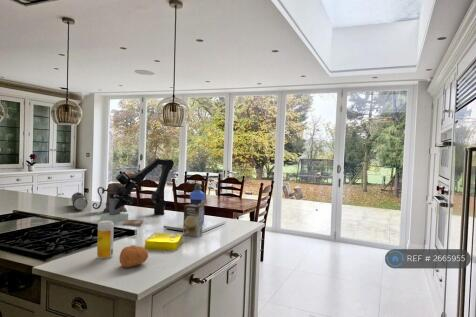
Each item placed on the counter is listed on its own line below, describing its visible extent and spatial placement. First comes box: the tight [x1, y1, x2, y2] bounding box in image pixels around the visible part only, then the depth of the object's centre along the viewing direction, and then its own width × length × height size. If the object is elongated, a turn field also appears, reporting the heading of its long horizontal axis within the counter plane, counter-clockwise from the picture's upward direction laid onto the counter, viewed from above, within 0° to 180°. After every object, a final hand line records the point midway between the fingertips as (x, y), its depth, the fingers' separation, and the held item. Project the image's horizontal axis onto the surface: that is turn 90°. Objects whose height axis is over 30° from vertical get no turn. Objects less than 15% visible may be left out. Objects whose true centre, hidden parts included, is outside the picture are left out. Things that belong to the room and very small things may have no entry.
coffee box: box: [182, 203, 204, 238], centre depth 176 cm, size 9×6×16 cm
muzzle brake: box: [71, 192, 88, 211], centre depth 241 cm, size 10×28×10 cm, turn 30°
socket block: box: [99, 212, 129, 223], centre depth 204 cm, size 12×11×4 cm
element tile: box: [144, 232, 183, 252], centre depth 155 cm, size 15×15×5 cm
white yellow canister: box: [96, 220, 115, 260], centre depth 136 cm, size 6×6×15 cm
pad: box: [122, 219, 144, 227], centre depth 196 cm, size 10×10×2 cm
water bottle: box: [189, 183, 206, 224], centre depth 203 cm, size 9×9×25 cm
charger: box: [109, 198, 120, 215], centre depth 204 cm, size 5×4×12 cm
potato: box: [118, 244, 149, 268], centre depth 128 cm, size 9×11×8 cm
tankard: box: [92, 182, 128, 214], centre depth 232 cm, size 24×17×20 cm
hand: (112, 208), depth 203 cm, fingers closed on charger, 4 cm apart
